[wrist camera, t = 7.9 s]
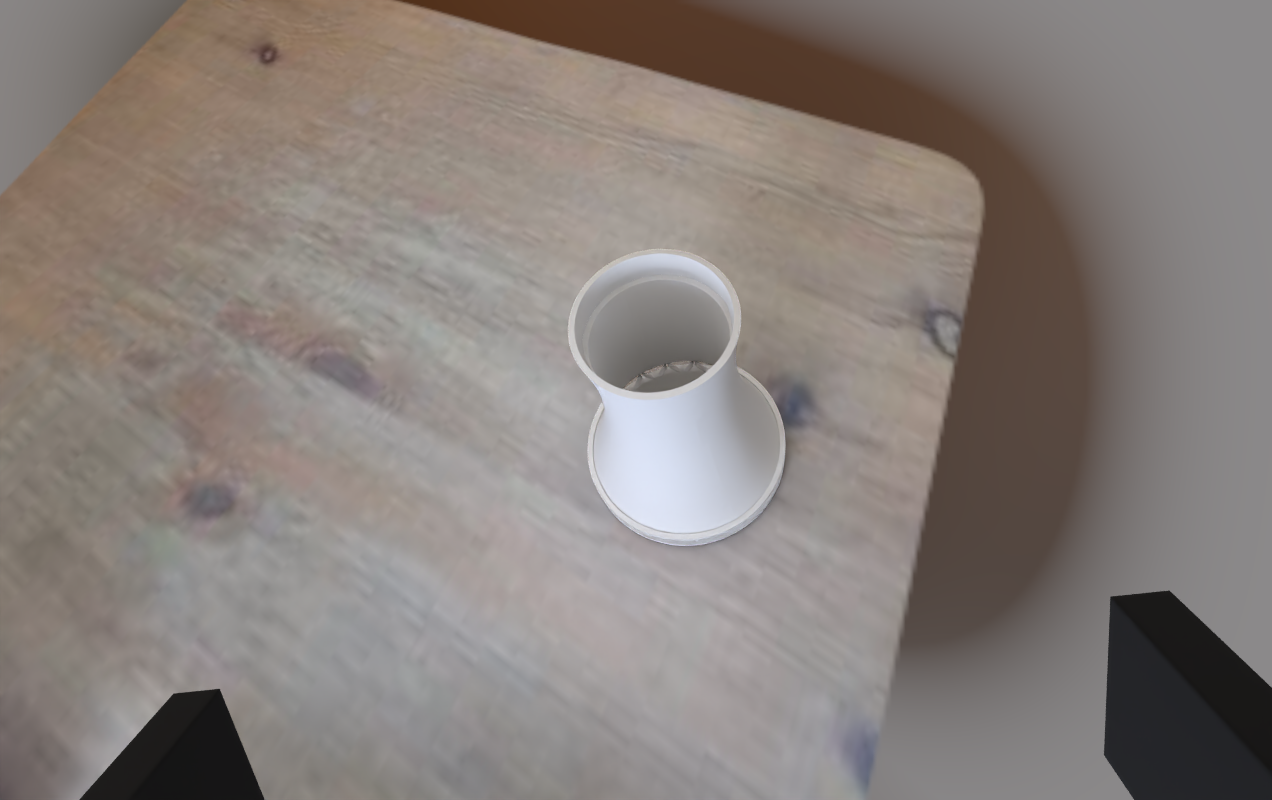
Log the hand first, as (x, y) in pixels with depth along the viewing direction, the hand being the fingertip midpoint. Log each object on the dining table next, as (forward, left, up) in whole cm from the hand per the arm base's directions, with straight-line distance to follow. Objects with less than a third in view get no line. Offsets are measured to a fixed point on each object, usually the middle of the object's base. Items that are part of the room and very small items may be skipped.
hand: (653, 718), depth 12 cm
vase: (+2, -10, -16) cm, 19 cm away
